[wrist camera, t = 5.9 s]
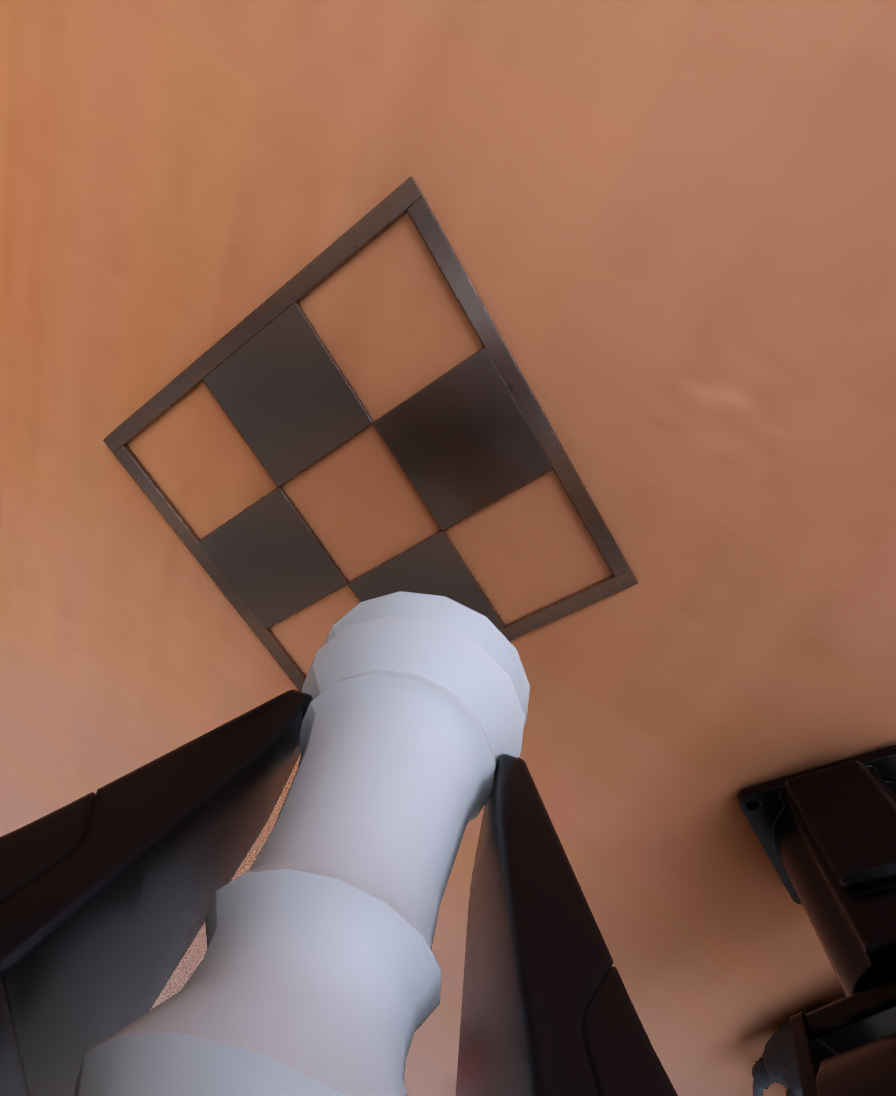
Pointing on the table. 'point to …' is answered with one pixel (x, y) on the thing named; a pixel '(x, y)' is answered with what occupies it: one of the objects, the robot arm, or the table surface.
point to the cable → (779, 1063)
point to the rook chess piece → (341, 872)
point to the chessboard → (336, 416)
